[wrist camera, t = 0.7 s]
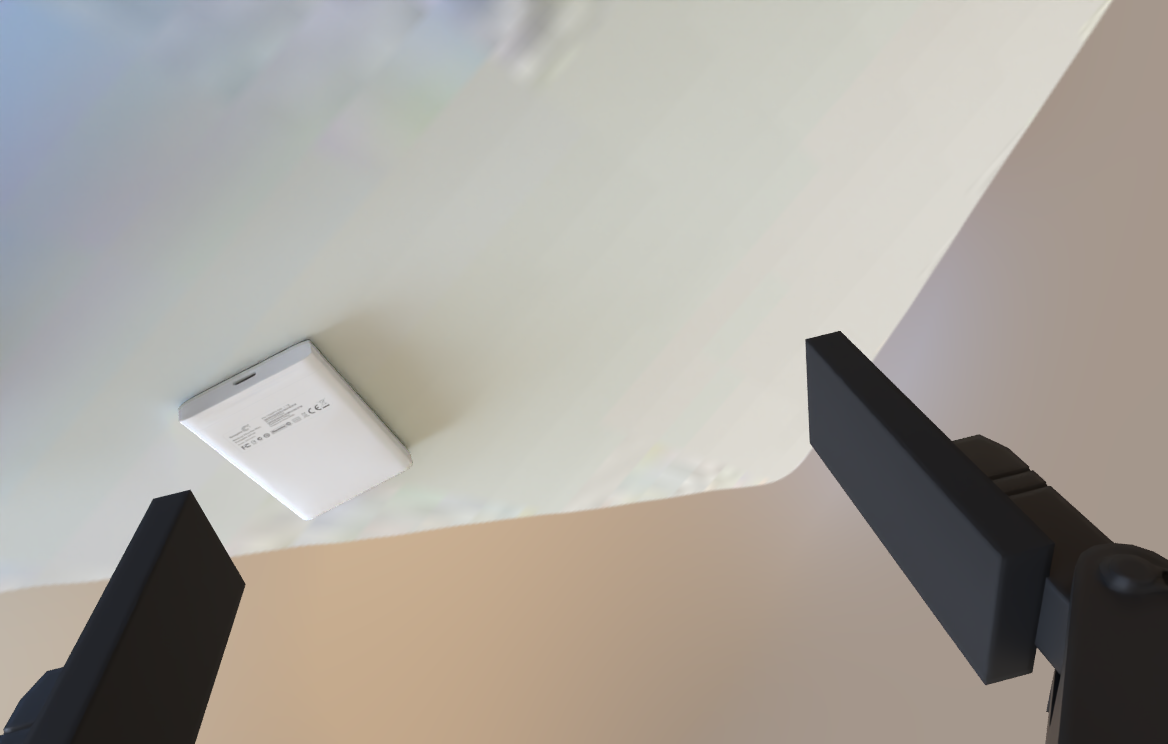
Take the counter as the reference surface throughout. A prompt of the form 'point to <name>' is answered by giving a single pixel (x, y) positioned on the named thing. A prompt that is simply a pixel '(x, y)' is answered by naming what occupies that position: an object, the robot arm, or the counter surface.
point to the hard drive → (297, 431)
